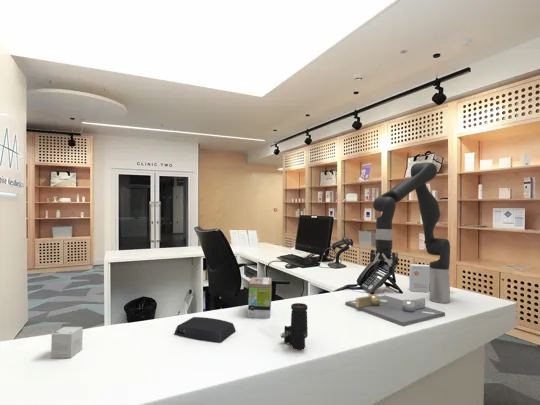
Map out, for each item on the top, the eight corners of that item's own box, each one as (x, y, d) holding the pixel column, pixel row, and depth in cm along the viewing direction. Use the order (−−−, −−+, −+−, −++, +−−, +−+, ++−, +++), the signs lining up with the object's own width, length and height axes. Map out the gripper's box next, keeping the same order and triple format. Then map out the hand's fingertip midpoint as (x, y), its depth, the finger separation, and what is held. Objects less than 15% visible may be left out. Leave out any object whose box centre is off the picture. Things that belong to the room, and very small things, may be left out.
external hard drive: (193, 324, 121) (193, 314, 122) (236, 332, 115) (237, 321, 115) (172, 336, 109) (172, 325, 109) (219, 345, 102) (219, 333, 103)
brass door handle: (373, 302, 150) (373, 294, 150) (381, 304, 146) (381, 296, 146) (353, 305, 144) (353, 297, 144) (361, 308, 139) (361, 299, 139)
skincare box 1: (82, 349, 97) (83, 326, 97) (70, 358, 90) (71, 333, 91) (63, 349, 96) (64, 326, 97) (49, 358, 90) (51, 333, 91)
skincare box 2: (411, 292, 180) (411, 265, 181) (408, 289, 185) (408, 263, 186) (449, 294, 177) (449, 266, 177) (446, 291, 182) (445, 265, 183)
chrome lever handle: (410, 312, 135) (410, 303, 135) (400, 309, 139) (400, 300, 139) (428, 308, 141) (428, 299, 141) (418, 305, 145) (418, 297, 146)
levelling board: (385, 298, 165) (385, 293, 165) (445, 315, 136) (445, 310, 136) (345, 304, 151) (345, 300, 151) (403, 326, 122) (402, 320, 122)
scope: (299, 299, 109) (316, 306, 100) (299, 338, 108) (316, 349, 99) (280, 302, 105) (295, 310, 96) (279, 342, 104) (295, 354, 95)
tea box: (270, 318, 129) (271, 283, 130) (247, 318, 129) (248, 283, 130) (271, 308, 144) (271, 276, 145) (250, 307, 144) (250, 276, 145)
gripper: (402, 239, 139) (401, 275, 138) (377, 237, 152) (376, 270, 151) (391, 239, 136) (390, 276, 135) (366, 237, 148) (366, 271, 147)
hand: (383, 273), depth 143 cm, fingers open, 8 cm apart
